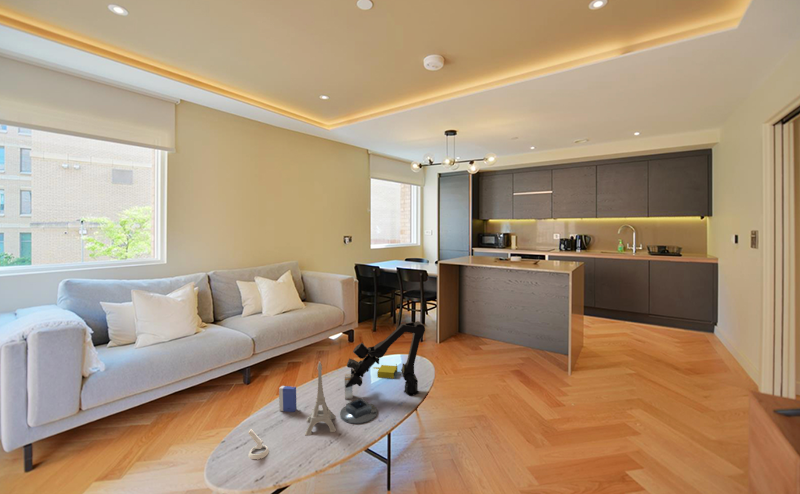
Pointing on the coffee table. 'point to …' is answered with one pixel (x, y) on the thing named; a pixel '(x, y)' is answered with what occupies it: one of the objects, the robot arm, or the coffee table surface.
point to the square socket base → (358, 412)
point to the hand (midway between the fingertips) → (346, 385)
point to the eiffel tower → (320, 409)
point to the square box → (348, 390)
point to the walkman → (287, 398)
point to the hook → (259, 446)
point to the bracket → (386, 371)
